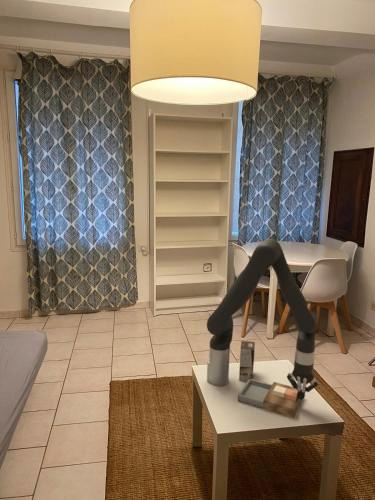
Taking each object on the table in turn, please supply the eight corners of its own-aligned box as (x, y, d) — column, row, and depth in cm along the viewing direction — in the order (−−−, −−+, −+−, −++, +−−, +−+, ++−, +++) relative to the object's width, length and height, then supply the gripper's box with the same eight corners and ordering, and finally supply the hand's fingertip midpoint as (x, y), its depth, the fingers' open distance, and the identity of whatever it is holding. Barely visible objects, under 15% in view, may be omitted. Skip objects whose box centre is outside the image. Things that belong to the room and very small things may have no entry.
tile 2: (284, 398, 159) (284, 393, 159) (287, 392, 163) (287, 388, 163) (295, 401, 157) (295, 396, 157) (297, 395, 161) (298, 391, 161)
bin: (237, 401, 163) (237, 394, 163) (249, 384, 176) (249, 378, 176) (262, 408, 158) (263, 402, 158) (272, 391, 171) (273, 384, 171)
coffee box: (252, 382, 178) (254, 350, 175) (238, 380, 179) (240, 348, 176) (253, 372, 187) (255, 341, 184) (239, 370, 188) (241, 340, 185)
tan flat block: (262, 408, 158) (263, 400, 158) (273, 389, 172) (273, 381, 171) (293, 418, 153) (294, 409, 152) (301, 397, 167) (302, 389, 166)
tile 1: (273, 394, 161) (273, 390, 161) (276, 389, 165) (276, 385, 165) (283, 397, 159) (284, 393, 159) (286, 392, 163) (286, 388, 163)
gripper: (285, 359, 155) (282, 398, 158) (319, 368, 149) (316, 408, 152) (289, 352, 161) (286, 389, 165) (322, 359, 155) (319, 398, 159)
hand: (300, 398), depth 158 cm, fingers closed
